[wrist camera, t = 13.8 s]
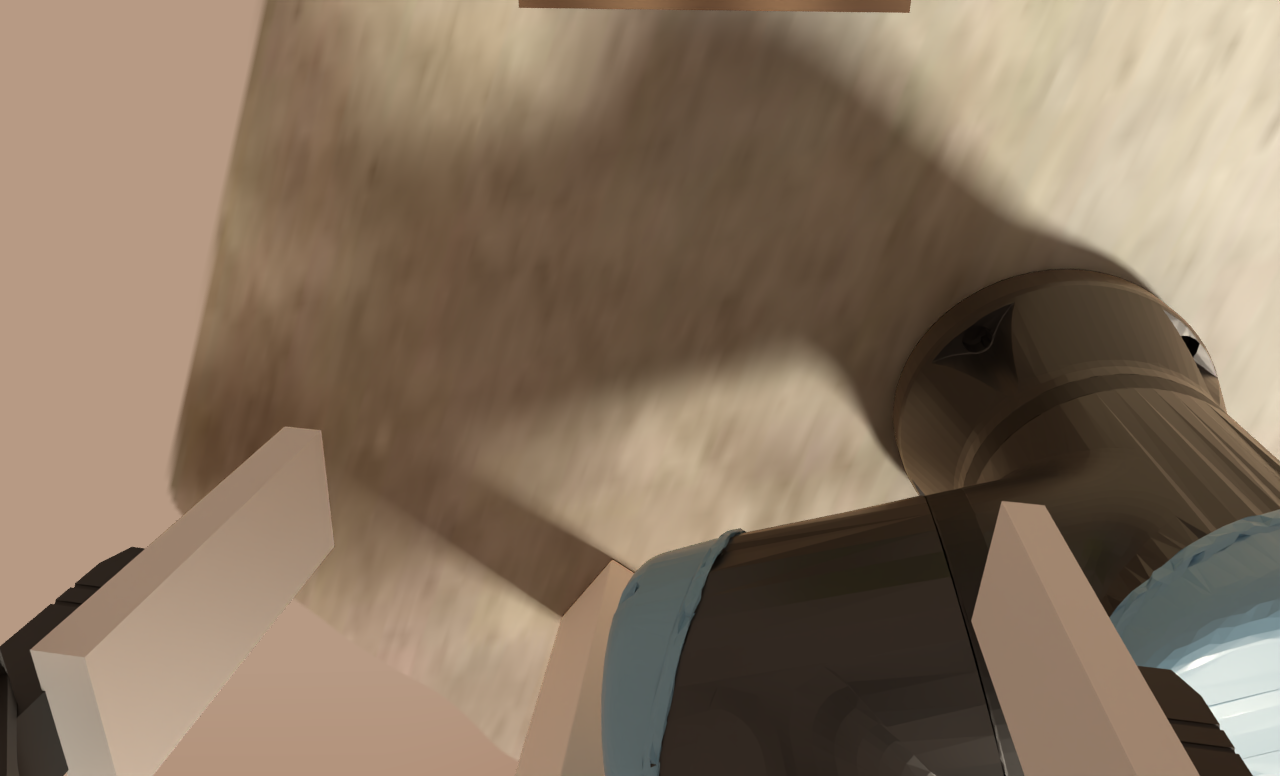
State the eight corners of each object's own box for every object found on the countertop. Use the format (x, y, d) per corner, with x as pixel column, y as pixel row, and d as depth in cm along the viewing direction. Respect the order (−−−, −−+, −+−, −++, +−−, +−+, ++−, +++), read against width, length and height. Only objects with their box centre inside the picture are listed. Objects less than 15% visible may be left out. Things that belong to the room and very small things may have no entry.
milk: (612, 557, 53) (529, 899, 33) (692, 608, 54) (658, 971, 34) (560, 618, 55) (453, 971, 36) (637, 666, 56) (575, 1036, 36)
